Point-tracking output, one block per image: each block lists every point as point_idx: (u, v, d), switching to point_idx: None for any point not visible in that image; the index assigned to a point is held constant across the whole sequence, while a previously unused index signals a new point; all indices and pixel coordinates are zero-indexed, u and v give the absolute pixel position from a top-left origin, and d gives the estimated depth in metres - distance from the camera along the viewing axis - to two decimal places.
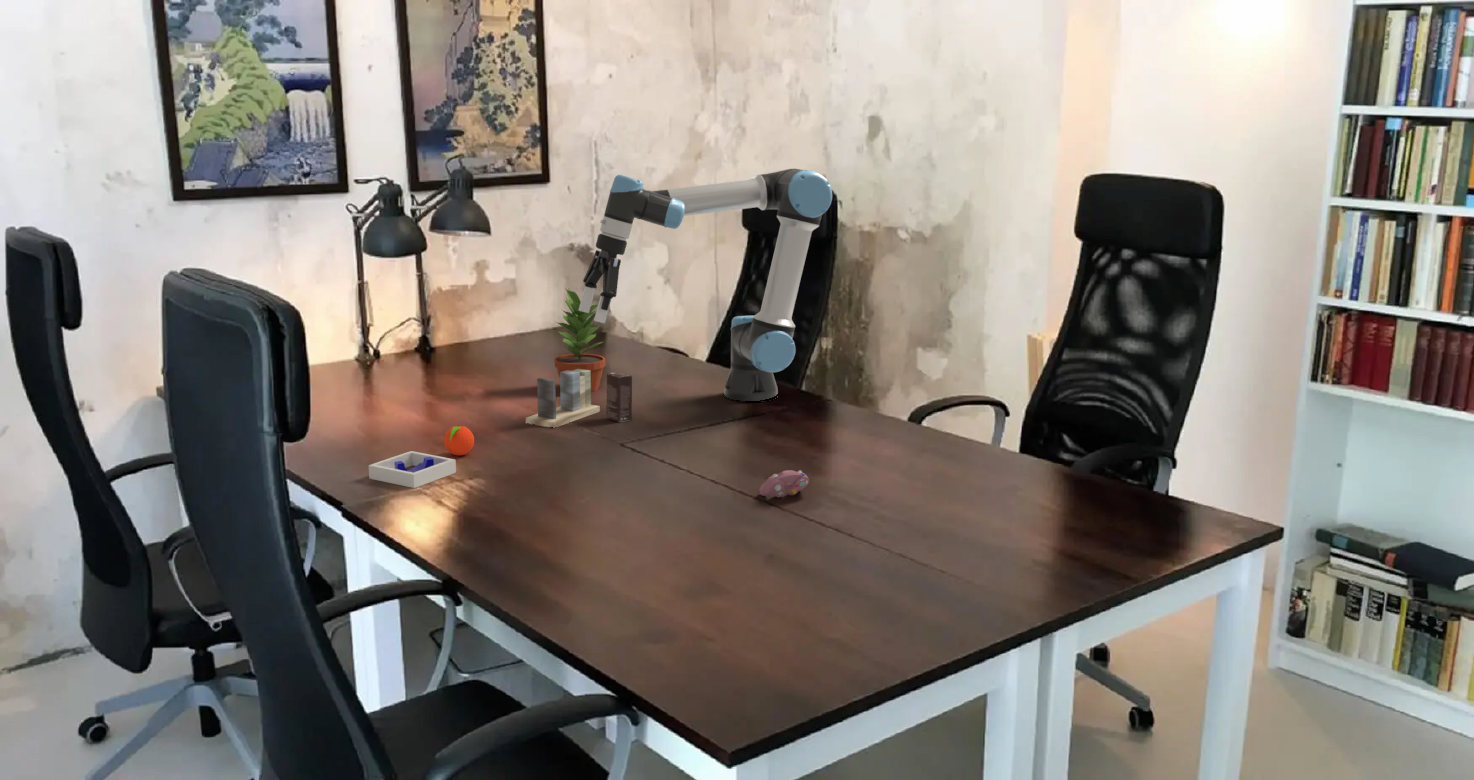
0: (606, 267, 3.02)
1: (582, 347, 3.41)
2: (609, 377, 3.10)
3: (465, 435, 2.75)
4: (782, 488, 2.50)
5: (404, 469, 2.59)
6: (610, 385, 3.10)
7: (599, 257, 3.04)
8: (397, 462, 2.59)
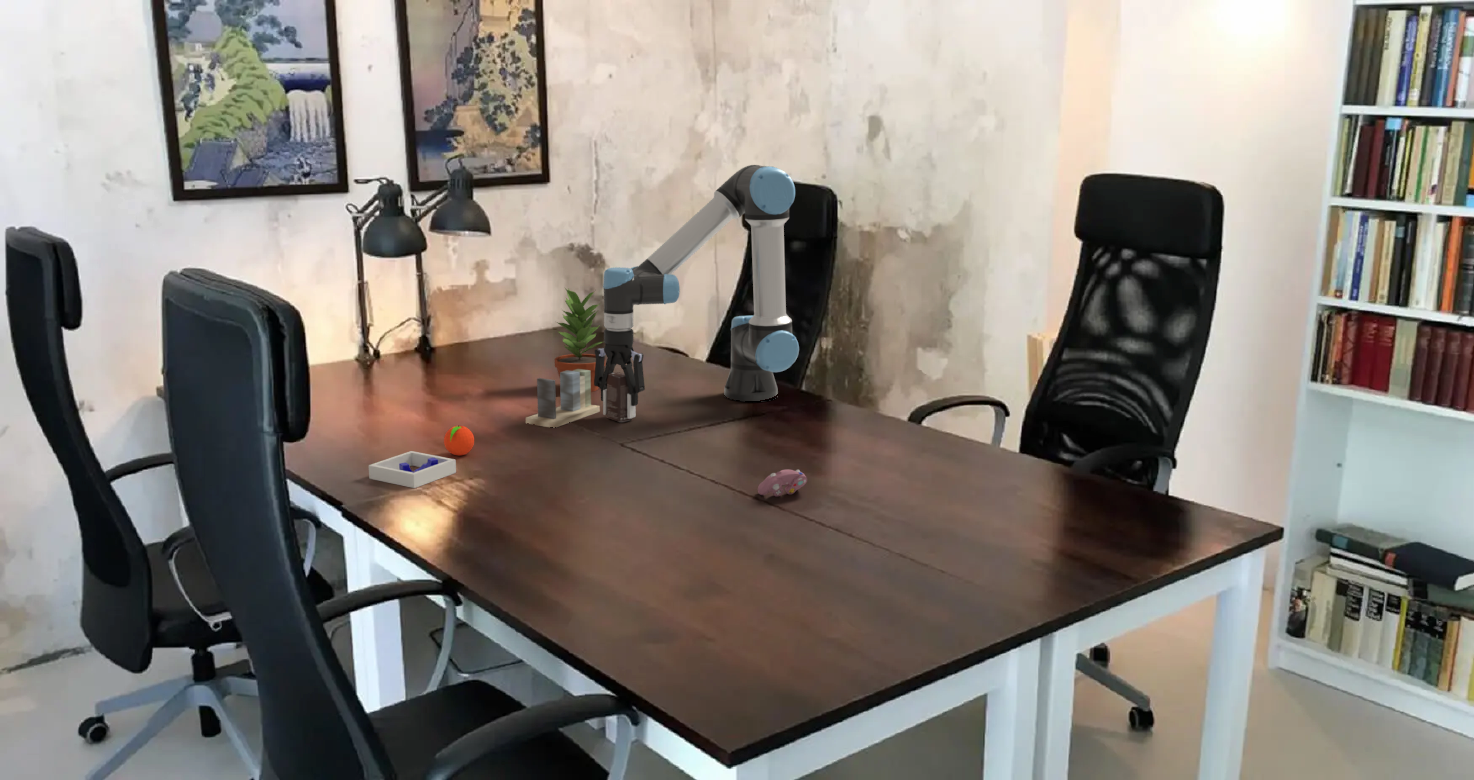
0: (625, 361, 3.07)
1: (582, 347, 3.41)
2: (609, 377, 3.10)
3: (465, 435, 2.75)
4: (780, 487, 2.51)
5: (409, 471, 2.58)
6: (610, 385, 3.10)
7: (611, 352, 3.07)
8: (402, 464, 2.58)
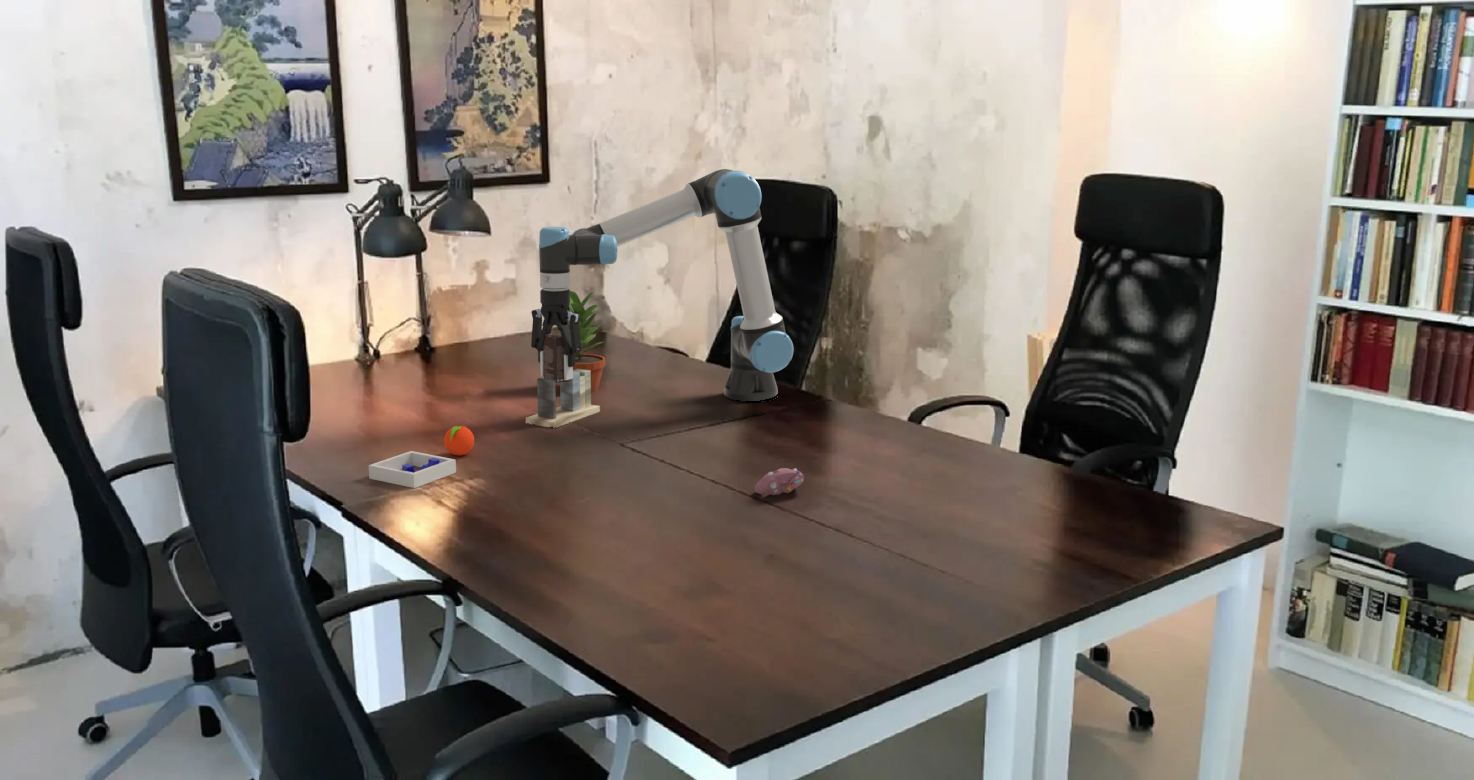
0: (561, 322, 3.04)
1: (582, 347, 3.41)
2: (546, 338, 3.06)
3: (465, 435, 2.75)
4: (777, 486, 2.52)
5: (413, 472, 2.57)
6: (547, 346, 3.06)
7: (548, 312, 3.04)
8: (405, 465, 2.57)
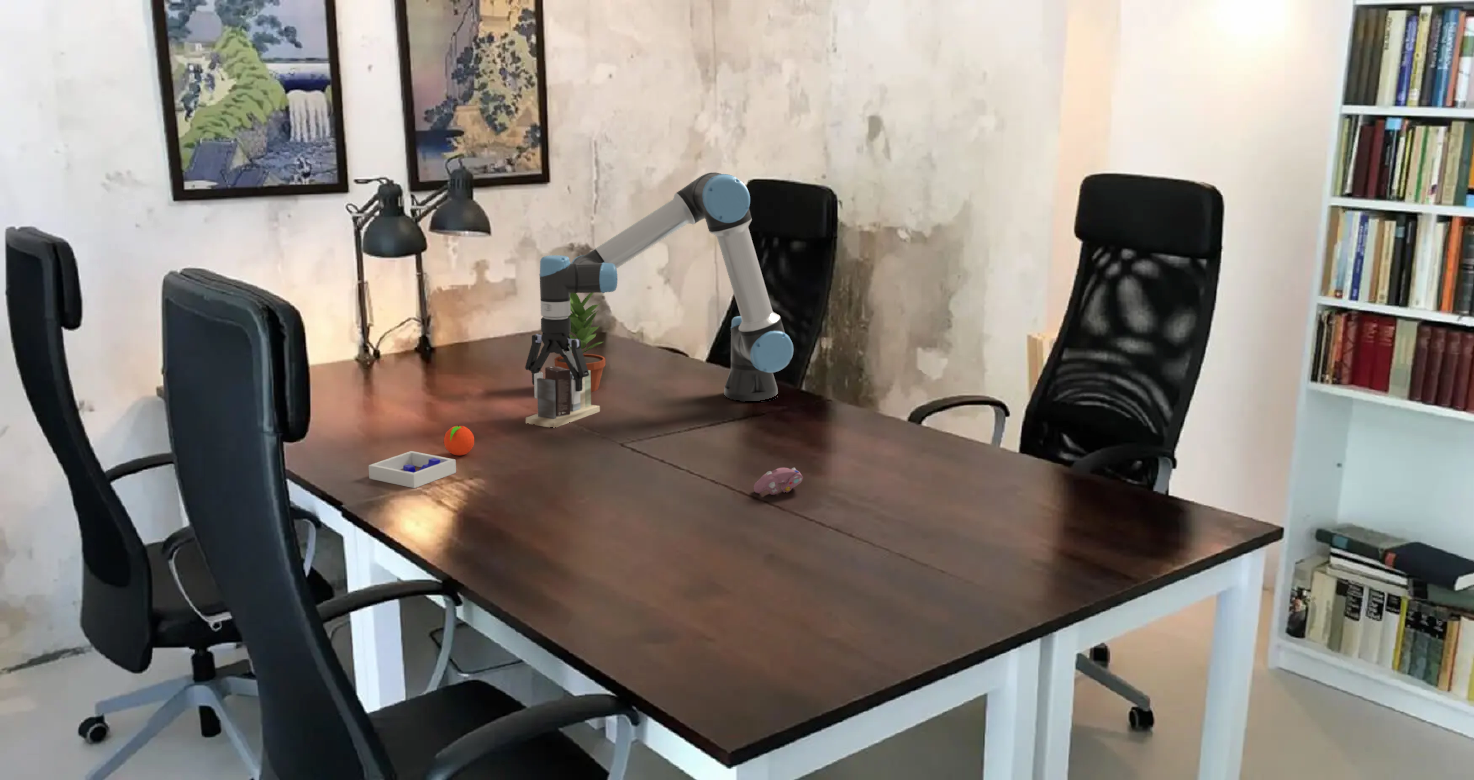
0: (563, 349, 3.05)
1: (582, 347, 3.41)
2: (547, 371, 3.08)
3: (465, 435, 2.75)
4: (776, 485, 2.52)
5: None
6: None
7: (549, 341, 3.05)
8: (407, 466, 2.56)
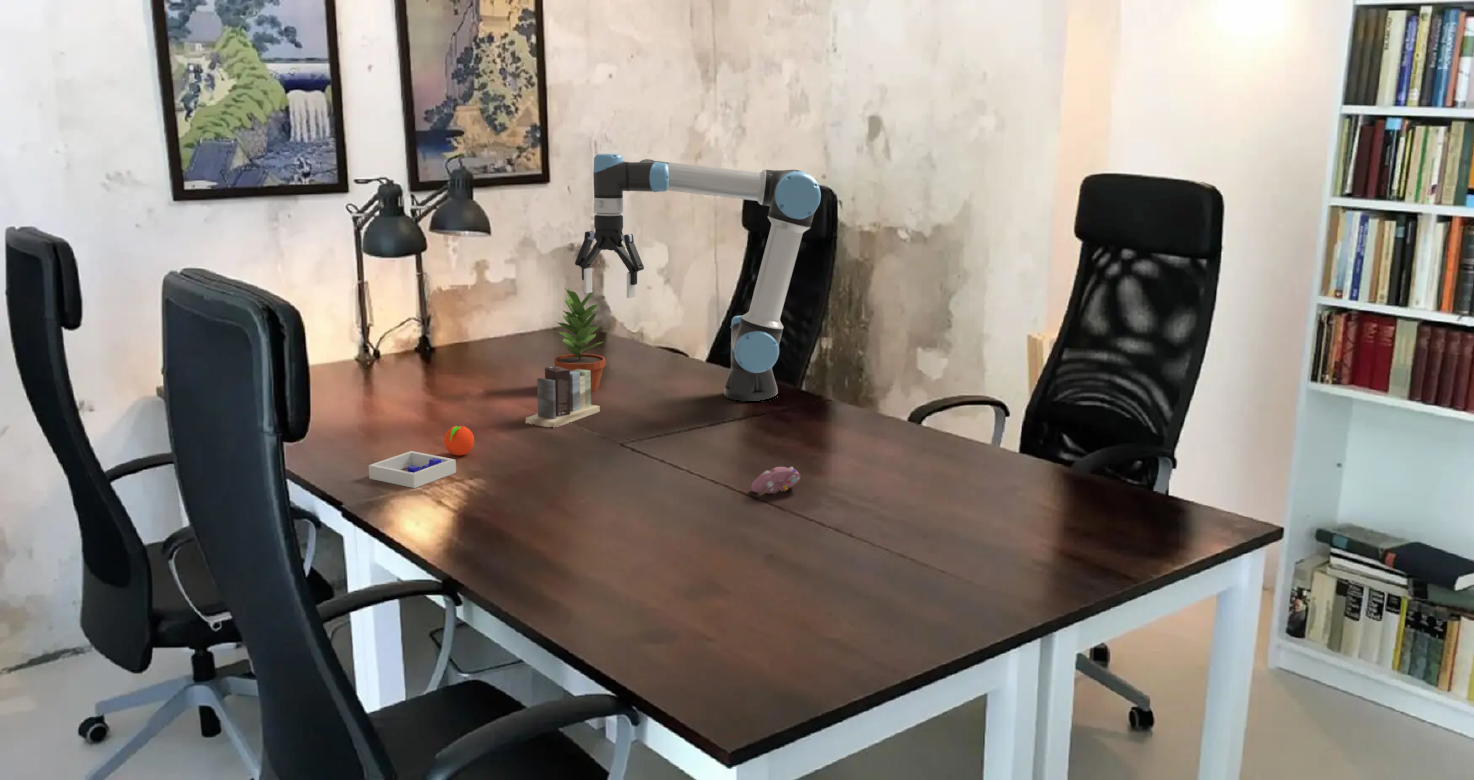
0: (616, 245, 3.12)
1: (582, 347, 3.41)
2: (547, 371, 3.08)
3: (465, 435, 2.75)
4: (774, 484, 2.53)
5: None
6: None
7: (602, 238, 3.12)
8: (411, 467, 2.56)
